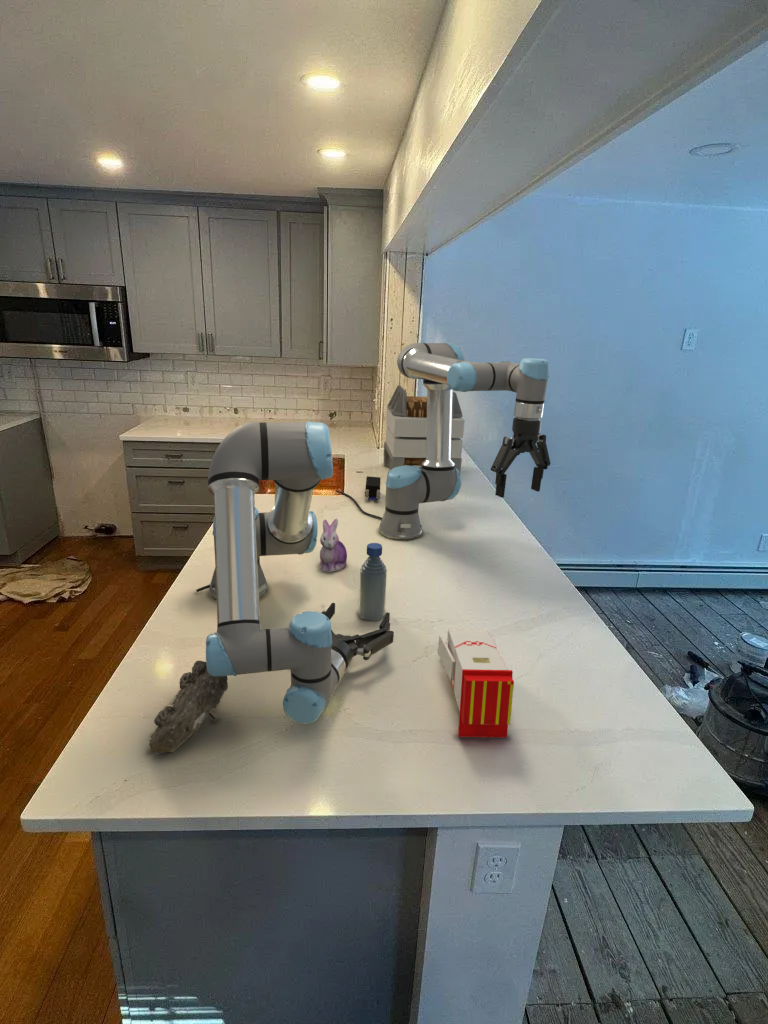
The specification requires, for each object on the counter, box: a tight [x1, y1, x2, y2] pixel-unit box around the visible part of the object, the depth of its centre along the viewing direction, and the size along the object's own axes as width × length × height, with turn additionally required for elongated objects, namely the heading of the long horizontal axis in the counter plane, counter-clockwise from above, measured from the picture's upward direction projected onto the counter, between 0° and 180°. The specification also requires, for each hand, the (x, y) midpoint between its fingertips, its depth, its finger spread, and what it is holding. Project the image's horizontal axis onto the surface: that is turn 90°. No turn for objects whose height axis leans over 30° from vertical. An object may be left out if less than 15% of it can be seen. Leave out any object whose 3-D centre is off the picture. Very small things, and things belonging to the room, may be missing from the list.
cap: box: [366, 542, 383, 557], centre depth 141 cm, size 4×4×2 cm
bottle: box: [358, 556, 388, 622], centre depth 144 cm, size 7×7×19 cm
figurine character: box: [364, 475, 381, 503], centre depth 235 cm, size 7×8×15 cm
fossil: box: [148, 660, 229, 754], centre depth 106 cm, size 22×10×15 cm
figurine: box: [319, 518, 348, 573], centre depth 170 cm, size 9×10×15 cm
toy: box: [437, 628, 515, 738], centre depth 117 cm, size 12×13×30 cm
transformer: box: [383, 384, 465, 475], centre depth 268 cm, size 34×33×41 cm
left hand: (360, 612), depth 135 cm, fingers open, 13 cm apart
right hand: (517, 493), depth 160 cm, fingers open, 13 cm apart
